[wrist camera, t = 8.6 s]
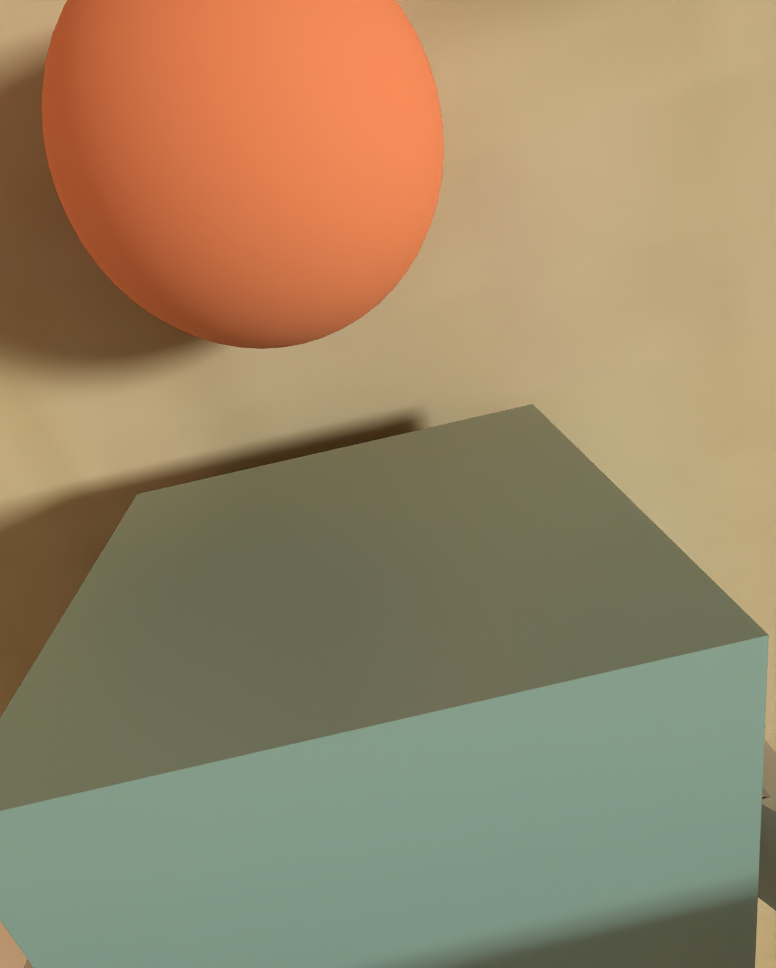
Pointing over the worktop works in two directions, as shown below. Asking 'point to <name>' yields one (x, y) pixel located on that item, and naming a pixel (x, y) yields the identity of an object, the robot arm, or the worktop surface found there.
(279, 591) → the teal eraser-like brick
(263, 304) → the ball
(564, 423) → the worktop surface
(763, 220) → the worktop surface
